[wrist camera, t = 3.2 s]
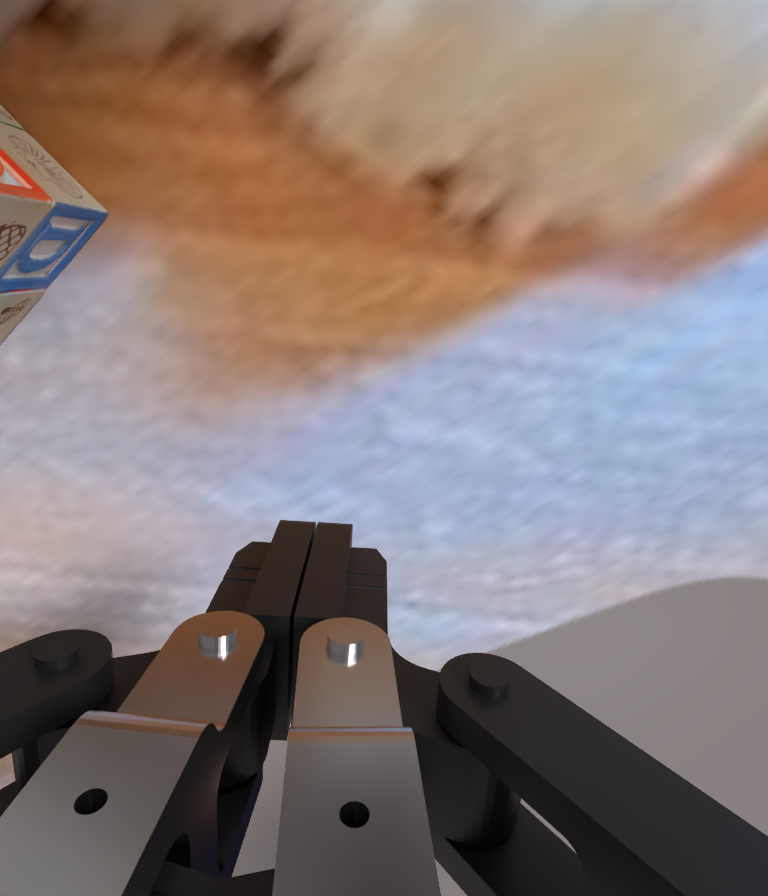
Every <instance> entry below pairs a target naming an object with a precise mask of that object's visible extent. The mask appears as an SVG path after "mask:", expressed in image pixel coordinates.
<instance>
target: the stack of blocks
mask: <svg viewBox="0 0 768 896" xmlns="http://www.w3.org/2000/svg"><path fill="white" fill-rule="evenodd" d="M107 215H108V212H107V210H106V209H105V208H104V207H103V206H102V205H101V204H100V203H99V202H97V201H96V200H95V199H94V198H93V197H92V196H91V195H90V194H89V193H88V192H87V191H86V190H85V189H84V188H83V187H82V186H81V185H80V184H79V183H78V182H77V181H76V180H75V179H74V178H73V177H72V176H71V175H70V174H69V173H68V172H67V171H66V170H65V169H64V168H63V167H62V166H61V165H60V164H59V163H58V162H57V161H56V160H55V159H54V158H53V157H52V156H51V155H50V154H49V153H48V152H47V151H46V150H45V149H44V148H43V147H42V146H41V145H40V144H39V143H38V142H37V141H36V140H35V139H34V138H33V137H31V136H30V135H29V134H28V133H27V132H25V131H24V129H23V127H22V126H21V125H20V124H19V123H18V122H17V121H16V120H15V119H14V118H13V117H12V116H11V115H10V114H9V113H8V112H7V111H6V110H5V109H4V108H3V107H2V106H1V105H0V344H1V343H2V341H3V340H4V339H5V338H6V337H7V336H8V334H9V333H10V332H11V331H12V330H13V329H14V327H15V326H16V325H17V324H18V323H19V322H20V321H21V319H22V318H23V317H24V316H25V315H26V314H27V312H28V311H29V310H30V309H31V308H32V307H33V306H34V304H35V303H36V302H37V301H38V300H39V299H40V297H41V296H42V294H43V293H44V292H45V290H46V288H47V286H48V285H49V284H50V283H51V282H52V281H53V280H54V279H55V278H56V277H57V276H58V275H59V274H60V272H61V271H62V270H63V269H64V268H65V266H66V265H67V264H68V263H69V262H70V261H71V260H72V259H73V257H74V256H75V255H76V254H77V252H78V251H79V250H80V248H81V247H82V246H83V245H84V244H85V243H86V242H87V240H88V239H89V238H90V237H91V236H92V234H93V233H94V232H95V231H96V230H97V228H98V227H99V226H100V225H101V224H102V223H103V221H104V220H105V219H106V217H107Z"/></svg>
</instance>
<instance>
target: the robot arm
mask: <svg viewBox="0 0 768 896" xmlns="http://www.w3.org/2000/svg"><path fill="white" fill-rule="evenodd" d="M352 528H353V524H338V523H322V522H318V524H317V528H316V523H315V522H304V521H287V520H280V522H279V524H278V527H277V529H276V532H275V534H274V537H273V539H272V542H271V543H268V542H251V543H250V544H248V545H247V546H245V547H244V548H242V549H241V550H240V551H238V552H237V553H236V554H235V556H234V558H233V560H232V562H231V564H230V566H229V569H228V570H227V572H226V574H225V576H224V578H223V581H222V582H221V583H220V585H219V587H218V589H217V591H216V593H215V595H214V597H213V599H212V601H211V603H210V605H209V607H208V609H207V611H206V613H203V614H200V615H197V616H194V617H192V618H190V619H188V620H186V621H185V622H183V623H182V624H180V625H179V626H178V627H177V628H176V629H175V630H174V632H173V633H172V634H171V636H170V637H169V639H168V640H167V641H166V643H165V644H164V646H163V647H162V649H161V650H158V651H154V652H149V653H144V654H137V655H130V656H124V657H117V658H113V655H112V645H111V643H110V641H109V640H108V639H107V638H106V637H105V636H104V635H102V634H100V633H97V632H94V631H90V630H80V629H78V630H63V631H58V632H53V633H49V634H45V635H42V636H40V637H37V638H34V639H32V640H29V641H27V642H24V643H22V644H20V645H17V646H15V647H12V648H10V649H7V650H5V651H3V652H0V759H1V758H2V757H4V756H6V755H8V754H10V753H12V758H13V765H14V772H15V779H16V781H15V782H13V783H11V784H9V785H8V786H6V787H4V788H2V789H1V790H0V896H441V894H440V887H439V881H438V875H437V870H436V863H435V859H436V860H437V861H438V862H439V864H441V866H442V867H443V868H444V869H445V870H446V872H447V873H448V874H449V875H450V876H451V877H452V878H453V880H454V881H455V882H456V883H457V884H458V885H459V886H460V888H461V889H462V890H463V891H464V892H465V893H466V894H467V896H768V836H766V835H765V834H763V833H762V832H761V831H759V830H758V829H756V828H755V827H753V826H752V825H750V824H749V823H747V822H746V821H745V820H743V819H741V818H740V817H739V816H737V815H736V814H734V813H733V812H732V811H730V810H729V809H727V808H726V807H724V806H723V805H721V804H720V803H718V802H717V801H716V800H714V799H713V798H711V797H710V796H708V795H707V794H705V793H704V792H702V791H701V790H699V789H698V788H697V787H695V786H694V785H692V784H691V783H689V782H688V781H686V780H685V779H683V778H682V777H681V776H679V775H678V774H676V773H675V772H673V771H672V770H670V769H669V768H667V767H666V766H665V765H663V764H662V763H660V762H659V761H657V760H656V759H654V758H653V757H651V756H650V755H649V754H647V753H646V752H644V751H643V750H641V749H639V748H638V747H637V746H635V745H634V744H633V743H631V742H630V741H628V740H627V739H625V738H624V737H622V736H621V735H619V734H618V733H617V732H615V731H614V730H612V729H611V728H609V727H607V726H606V725H605V724H603V723H602V722H601V721H599V720H598V719H596V718H595V717H593V716H592V715H590V714H589V713H587V712H586V711H584V710H583V709H582V708H580V707H579V706H577V705H576V704H574V703H573V702H571V701H570V700H568V699H567V698H566V697H564V696H563V695H561V694H560V693H558V692H557V691H555V690H554V689H552V688H551V687H550V686H548V685H546V684H545V683H544V682H542V681H541V680H539V679H538V678H536V677H535V676H534V675H532V674H531V673H529V672H528V671H526V670H525V669H523V668H522V667H520V666H519V665H517V664H516V663H514V662H512V661H510V660H508V659H505V658H502V657H499V656H496V655H492V654H485V653H468V654H463V655H459V656H457V657H454V658H452V659H451V660H449V661H448V662H447V663H446V664H445V665H444V666H443V668H442V669H441V672H440V673H439V672H436V671H433V670H429V669H426V668H423V667H420V666H417V665H415V664H413V663H411V662H409V661H407V660H406V659H404V658H403V657H401V656H400V655H399V654H398V653H397V652H396V651H395V650H394V649H393V648H392V646H391V643H390V639H389V637H388V627H387V561H386V560H385V559H384V558H383V557H382V555H381V554H380V553H379V552H378V550H377V549H370V548H354V547H352ZM290 722H291V727H290ZM289 727H290V728H289ZM288 732H289V734H288ZM287 737H288V744H287V753H286V763H285V773H284V783H283V794H282V803H281V814H280V823H279V834H278V843H277V852H276V862H275V869H271V870H265V871H260V872H256V873H251V874H246V875H241V876H236V877H232V875H233V871H234V868H235V865H236V862H237V859H238V856H239V853H240V850H241V847H242V844H243V841H244V838H245V835H246V831H247V828H248V825H249V822H250V819H251V816H252V813H253V810H254V807H255V804H256V801H257V797H258V794H259V791H260V788H261V785H262V781H263V763H264V761H265V759H266V756H267V752H268V748H269V743H270V740H287ZM521 798H522V799H523V800H524V801H525V802H526V803H527V804H528V805H530V806H531V807H532V808H533V809H534V810H535V811H536V812H537V813H538V814H540V815H541V816H542V817H543V818H544V819H545V820H546V821H547V822H549V823H550V824H551V825H552V826H553V827H554V828H555V829H556V830H557V831H559V832H560V833H561V834H562V835H563V836H564V837H565V838H566V839H567V840H568V841H569V843H570V844H571V845H572V847H573V848H574V849H575V851H576V853H577V854H576V853H575V852H574V851H573V850H572V849H571V848H569V847H568V846H567V845H566V844H565V843H564V842H563V841H562V840H561V839H560V838H558V837H557V836H556V835H555V834H554V833H553V832H552V831H551V830H550V829H548V828H547V827H546V826H545V825H544V824H543V823H542V822H541V821H540V820H539V819H537V818H536V817H535V816H534V815H533V814H532V813H531V812H530V811H529V810H527V809H526V808H525V807H524V806H523V805H522V804H521V803H520V801H521Z"/></svg>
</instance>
